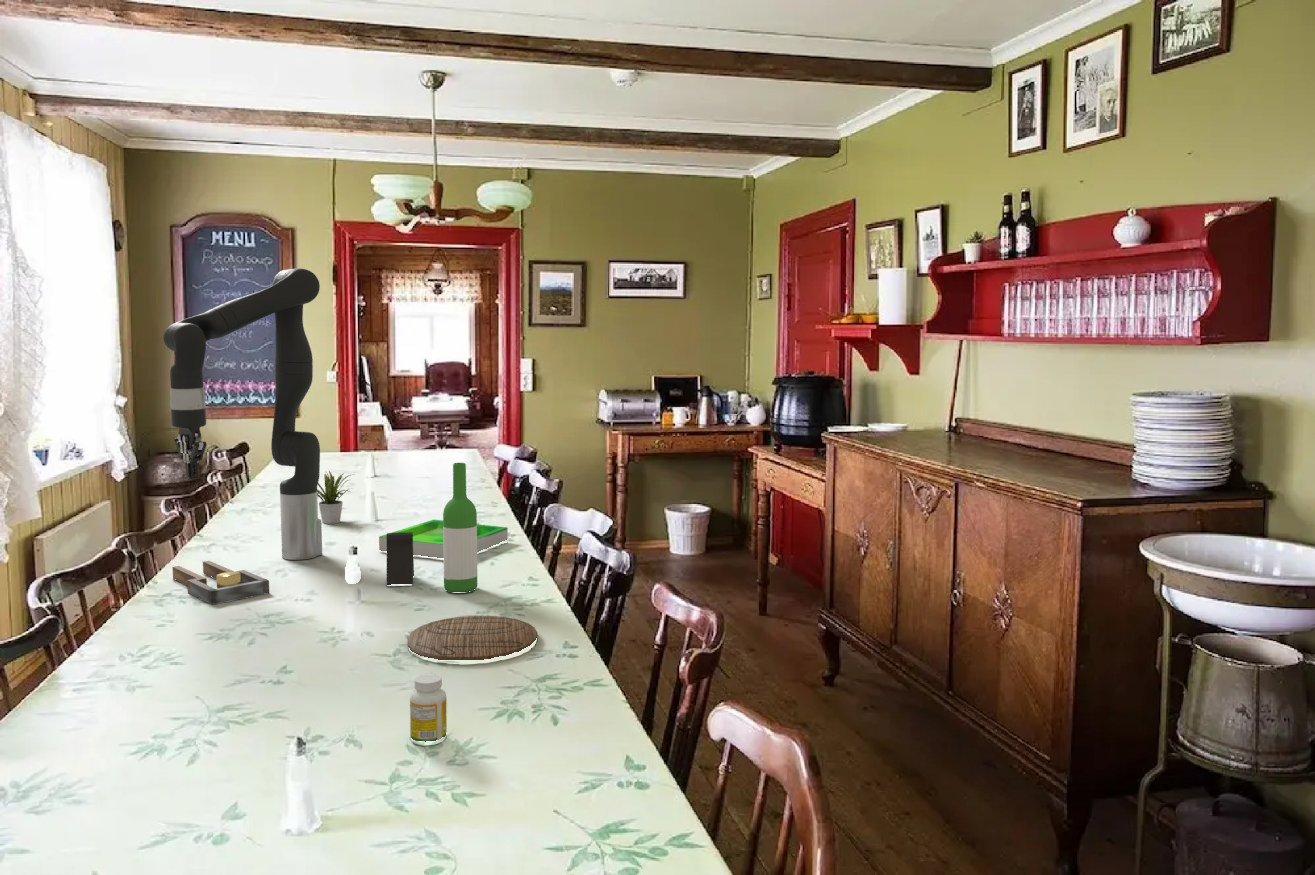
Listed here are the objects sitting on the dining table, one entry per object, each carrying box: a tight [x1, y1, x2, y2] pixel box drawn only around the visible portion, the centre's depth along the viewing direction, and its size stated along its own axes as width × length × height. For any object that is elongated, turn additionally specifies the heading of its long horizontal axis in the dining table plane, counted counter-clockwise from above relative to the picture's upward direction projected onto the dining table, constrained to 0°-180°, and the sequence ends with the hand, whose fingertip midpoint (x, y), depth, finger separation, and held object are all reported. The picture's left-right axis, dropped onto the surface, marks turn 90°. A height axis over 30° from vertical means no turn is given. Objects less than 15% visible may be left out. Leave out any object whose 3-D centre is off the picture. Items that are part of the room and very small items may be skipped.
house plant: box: [317, 470, 356, 525], centre depth 295 cm, size 14×14×16 cm
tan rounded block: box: [216, 571, 241, 589], centre depth 218 cm, size 5×5×4 cm
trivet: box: [407, 615, 538, 660], centre depth 188 cm, size 25×25×2 cm
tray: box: [378, 519, 509, 558], centre depth 265 cm, size 25×25×5 cm
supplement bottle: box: [409, 673, 448, 742], centre depth 144 cm, size 5×5×10 cm
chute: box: [171, 560, 270, 606], centre depth 224 cm, size 13×28×3 cm, turn 47°
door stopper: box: [386, 532, 415, 586], centre depth 230 cm, size 9×6×12 cm, turn 11°
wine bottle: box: [442, 462, 478, 593], centre depth 222 cm, size 8×8×30 cm
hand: (192, 478), depth 232 cm, fingers closed
